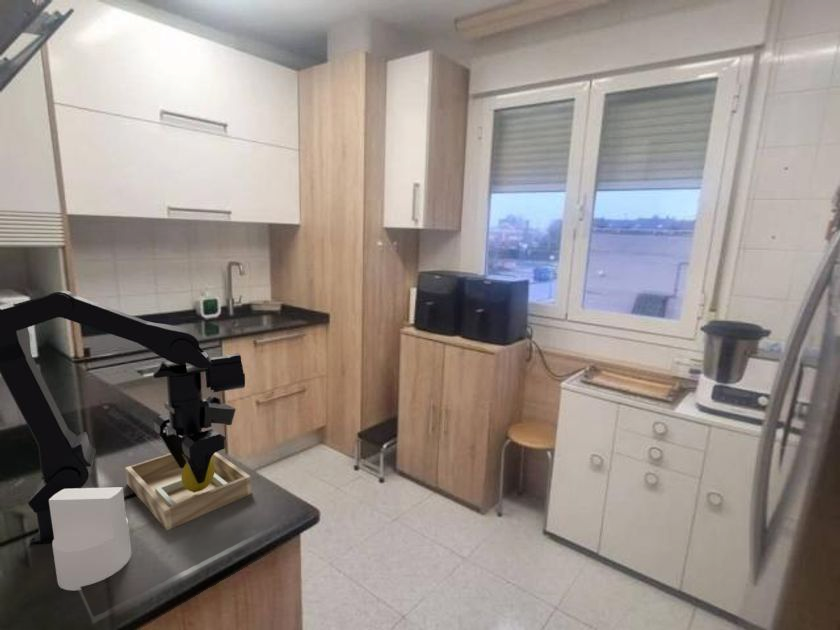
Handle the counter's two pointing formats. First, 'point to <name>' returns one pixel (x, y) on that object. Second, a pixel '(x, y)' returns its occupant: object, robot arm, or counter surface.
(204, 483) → the lemon
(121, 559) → the grey upright block
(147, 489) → the walled box
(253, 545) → the counter surface
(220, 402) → the robot arm
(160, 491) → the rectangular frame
